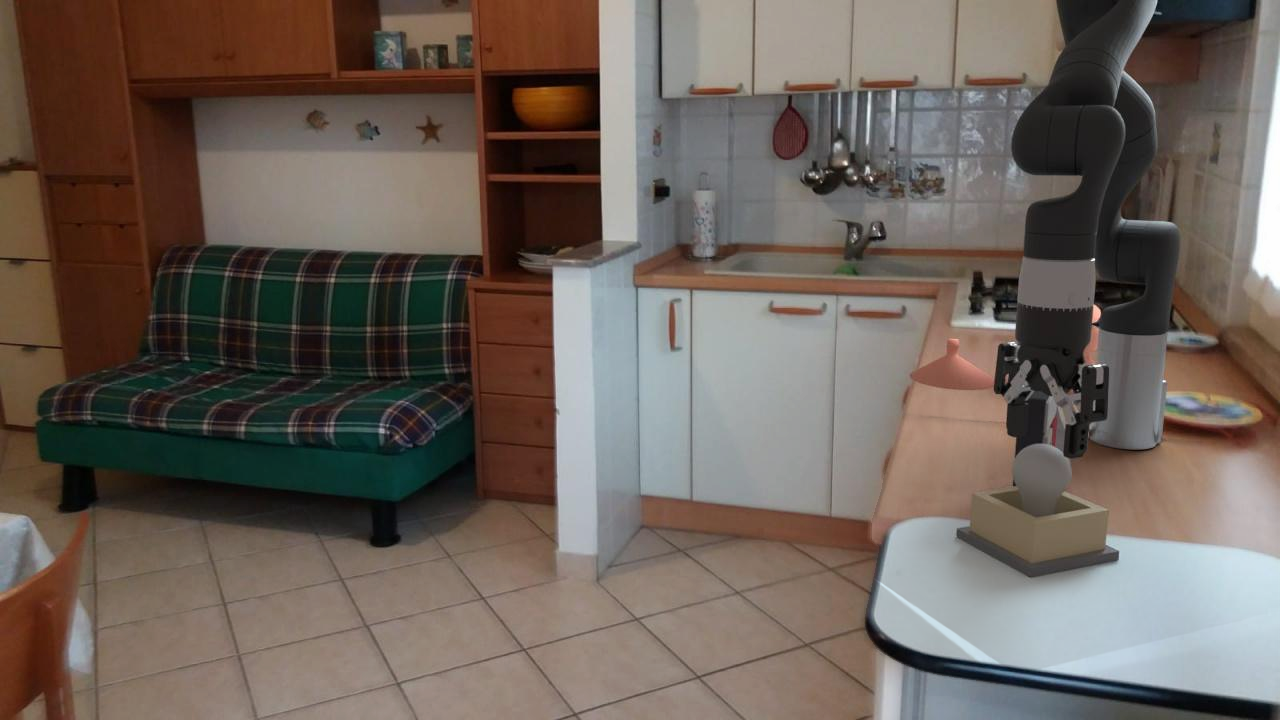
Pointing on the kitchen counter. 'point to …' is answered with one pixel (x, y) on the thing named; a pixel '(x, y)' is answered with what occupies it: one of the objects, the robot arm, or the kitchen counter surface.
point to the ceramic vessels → (966, 376)
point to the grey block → (1060, 429)
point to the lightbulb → (1041, 478)
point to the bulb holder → (1038, 532)
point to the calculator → (1039, 422)
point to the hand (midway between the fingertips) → (1043, 446)
